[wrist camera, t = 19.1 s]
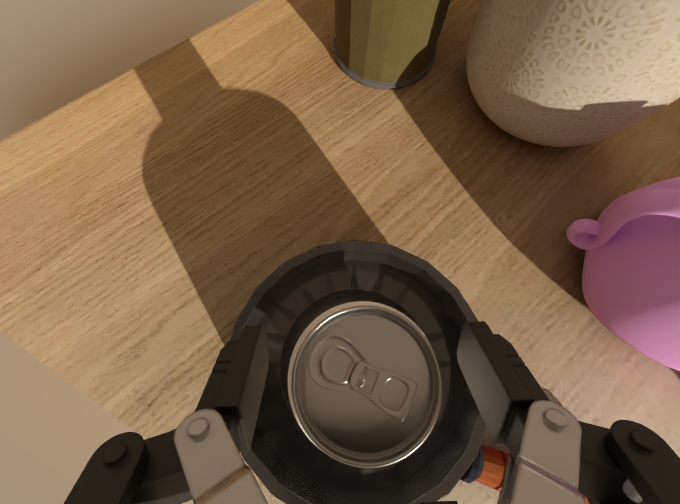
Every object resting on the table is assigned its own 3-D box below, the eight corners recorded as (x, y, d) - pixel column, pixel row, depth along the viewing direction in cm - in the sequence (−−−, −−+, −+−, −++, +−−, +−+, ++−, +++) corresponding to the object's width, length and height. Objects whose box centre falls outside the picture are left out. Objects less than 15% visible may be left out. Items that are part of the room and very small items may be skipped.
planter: (633, 60, 32) (873, -176, 18) (608, 199, 28) (904, 35, 13) (472, 13, 34) (570, -235, 20) (423, 136, 30) (504, -68, 15)
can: (334, 305, 24) (328, 267, 13) (411, 344, 24) (478, 340, 12) (293, 386, 23) (246, 425, 11) (375, 431, 22) (414, 522, 10)
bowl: (450, 498, 21) (490, 553, 16) (230, 459, 22) (191, 498, 16) (459, 279, 26) (493, 259, 20) (275, 252, 26) (258, 225, 21)
